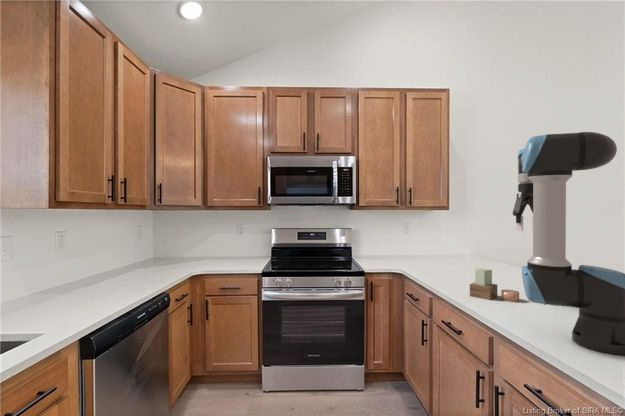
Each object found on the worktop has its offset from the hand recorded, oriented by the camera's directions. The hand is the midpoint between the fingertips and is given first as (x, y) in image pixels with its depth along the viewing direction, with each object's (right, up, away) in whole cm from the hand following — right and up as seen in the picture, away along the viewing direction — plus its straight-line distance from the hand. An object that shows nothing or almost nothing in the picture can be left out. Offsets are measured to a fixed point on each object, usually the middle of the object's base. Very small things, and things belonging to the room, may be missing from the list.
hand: (527, 230), depth 151 cm
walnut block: (-16, -32, +8) cm, 37 cm away
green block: (-16, -26, +8) cm, 31 cm away
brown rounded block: (-7, -32, +2) cm, 33 cm away
